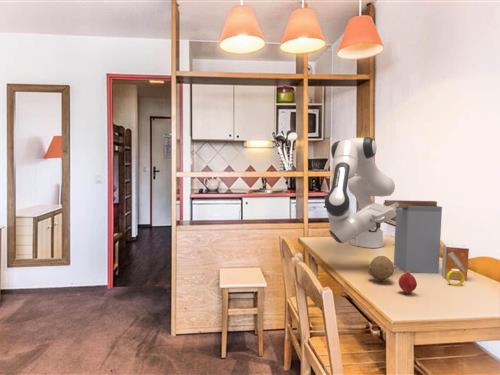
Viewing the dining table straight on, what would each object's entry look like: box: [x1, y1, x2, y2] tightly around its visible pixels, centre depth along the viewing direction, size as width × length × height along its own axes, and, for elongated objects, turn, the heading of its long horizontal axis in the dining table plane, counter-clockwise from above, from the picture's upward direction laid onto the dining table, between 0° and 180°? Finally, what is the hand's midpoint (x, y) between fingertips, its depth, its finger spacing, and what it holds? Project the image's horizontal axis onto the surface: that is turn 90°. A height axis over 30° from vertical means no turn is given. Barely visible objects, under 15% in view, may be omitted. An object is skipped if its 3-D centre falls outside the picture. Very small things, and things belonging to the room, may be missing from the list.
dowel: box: [384, 199, 438, 209], centre depth 156 cm, size 3×21×3 cm, turn 92°
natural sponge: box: [367, 255, 395, 282], centre depth 141 cm, size 9×9×10 cm
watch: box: [446, 269, 464, 286], centre depth 139 cm, size 6×3×6 cm, turn 87°
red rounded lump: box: [398, 271, 418, 294], centre depth 129 cm, size 6×6×8 cm
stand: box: [393, 205, 443, 274], centre depth 159 cm, size 12×14×28 cm
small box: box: [441, 243, 470, 282], centre depth 148 cm, size 8×6×13 cm
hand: (395, 203), depth 155 cm, fingers closed on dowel, 3 cm apart
